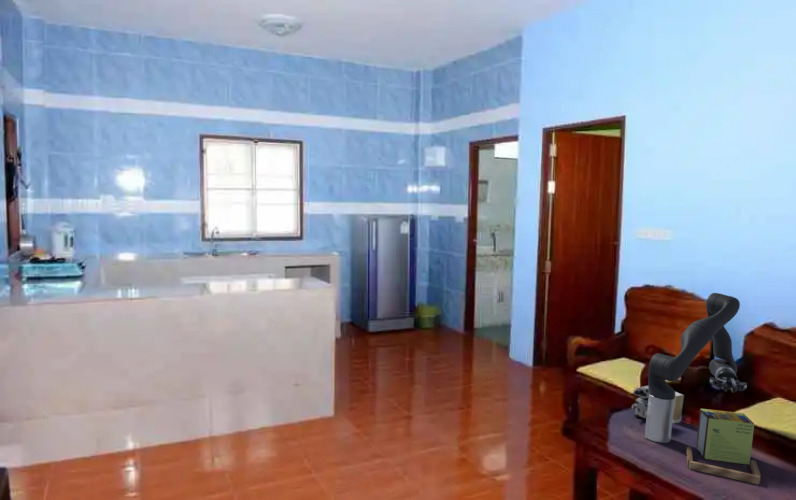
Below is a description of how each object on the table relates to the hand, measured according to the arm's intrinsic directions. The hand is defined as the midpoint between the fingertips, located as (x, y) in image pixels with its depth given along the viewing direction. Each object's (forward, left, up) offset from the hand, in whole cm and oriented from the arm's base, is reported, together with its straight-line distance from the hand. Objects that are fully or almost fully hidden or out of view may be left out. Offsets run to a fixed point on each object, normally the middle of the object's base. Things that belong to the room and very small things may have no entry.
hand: (730, 389), depth 222 cm
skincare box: (-18, +16, -22) cm, 33 cm away
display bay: (-2, -24, -22) cm, 33 cm away
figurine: (-29, +8, -22) cm, 38 cm away
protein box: (-1, -12, -22) cm, 25 cm away
